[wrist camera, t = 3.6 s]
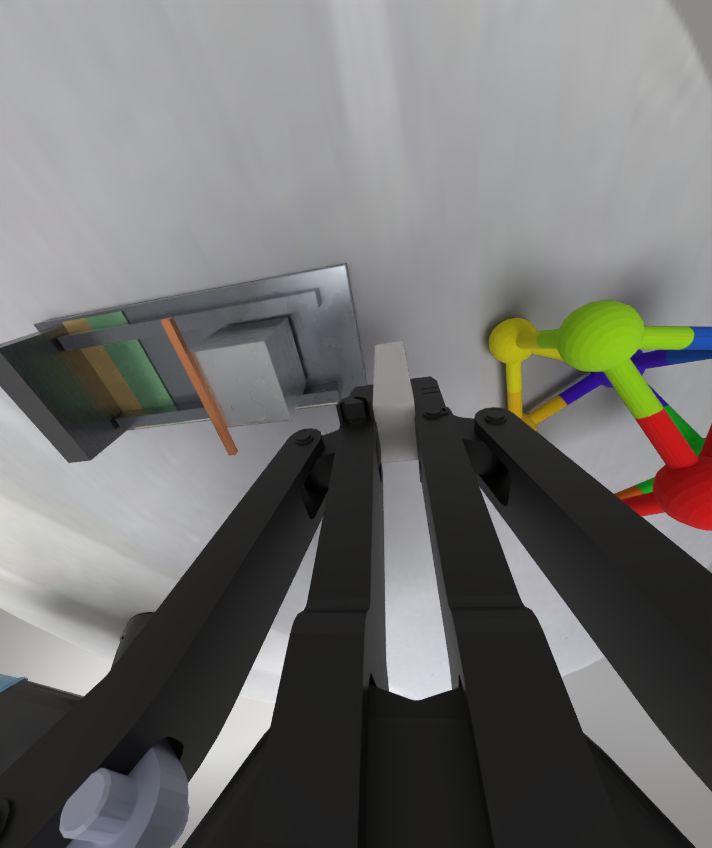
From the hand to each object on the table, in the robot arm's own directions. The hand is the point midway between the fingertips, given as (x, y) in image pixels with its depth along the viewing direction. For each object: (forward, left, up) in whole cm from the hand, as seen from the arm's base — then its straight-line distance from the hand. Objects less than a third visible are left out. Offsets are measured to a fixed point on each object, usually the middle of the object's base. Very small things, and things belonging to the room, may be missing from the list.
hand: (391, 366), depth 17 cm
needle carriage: (-9, 0, -5) cm, 11 cm away
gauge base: (-14, 0, -7) cm, 16 cm away
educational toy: (+13, -5, -7) cm, 16 cm away
